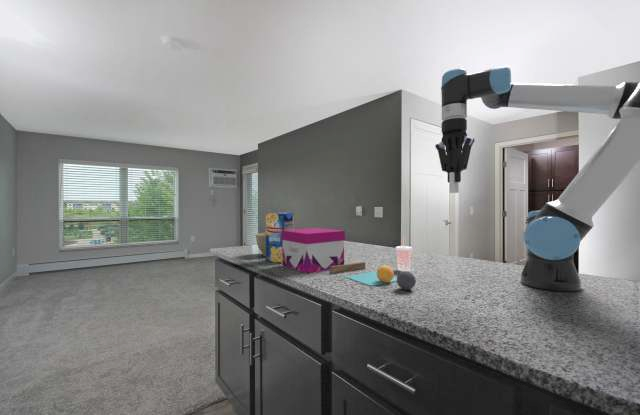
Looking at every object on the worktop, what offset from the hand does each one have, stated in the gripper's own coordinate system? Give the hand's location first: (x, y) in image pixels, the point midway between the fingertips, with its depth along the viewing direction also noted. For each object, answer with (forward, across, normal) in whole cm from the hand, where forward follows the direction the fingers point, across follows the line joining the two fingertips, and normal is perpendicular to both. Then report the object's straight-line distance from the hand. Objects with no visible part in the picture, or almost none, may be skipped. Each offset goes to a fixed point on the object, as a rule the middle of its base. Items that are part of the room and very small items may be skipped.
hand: (454, 192), depth 100 cm
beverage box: (+30, -66, -33) cm, 79 cm away
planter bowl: (+30, -83, -30) cm, 93 cm away
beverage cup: (+30, -22, 0) cm, 37 cm away
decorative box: (+30, -48, -26) cm, 62 cm away
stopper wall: (+29, -33, -19) cm, 48 cm away
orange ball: (+27, -12, -19) cm, 35 cm away
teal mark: (+29, -18, -19) cm, 39 cm away
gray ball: (+27, -2, -19) cm, 33 cm away
